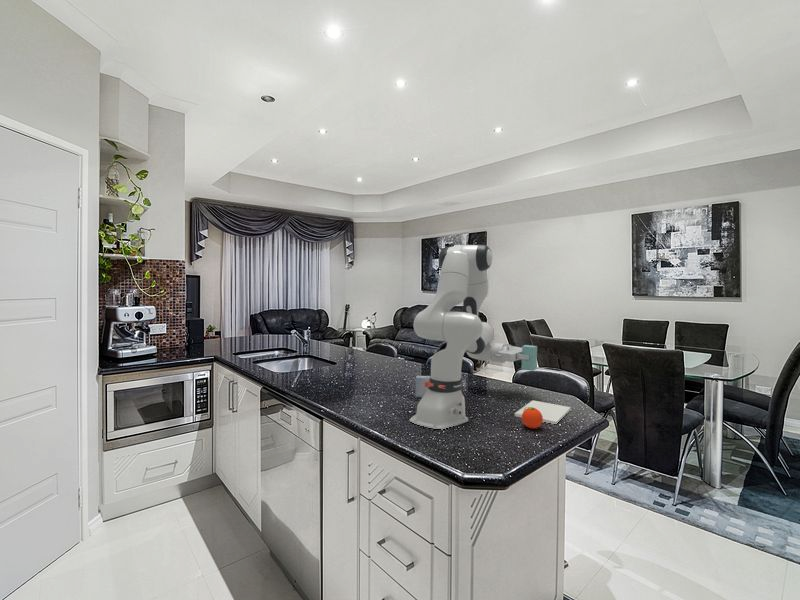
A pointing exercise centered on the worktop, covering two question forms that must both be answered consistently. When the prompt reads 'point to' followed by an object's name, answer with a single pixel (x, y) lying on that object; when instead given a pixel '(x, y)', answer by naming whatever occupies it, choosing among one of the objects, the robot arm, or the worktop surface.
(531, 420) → the clementine
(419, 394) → the medicine box
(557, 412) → the white cutting board
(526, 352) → the teal block
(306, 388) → the worktop surface
